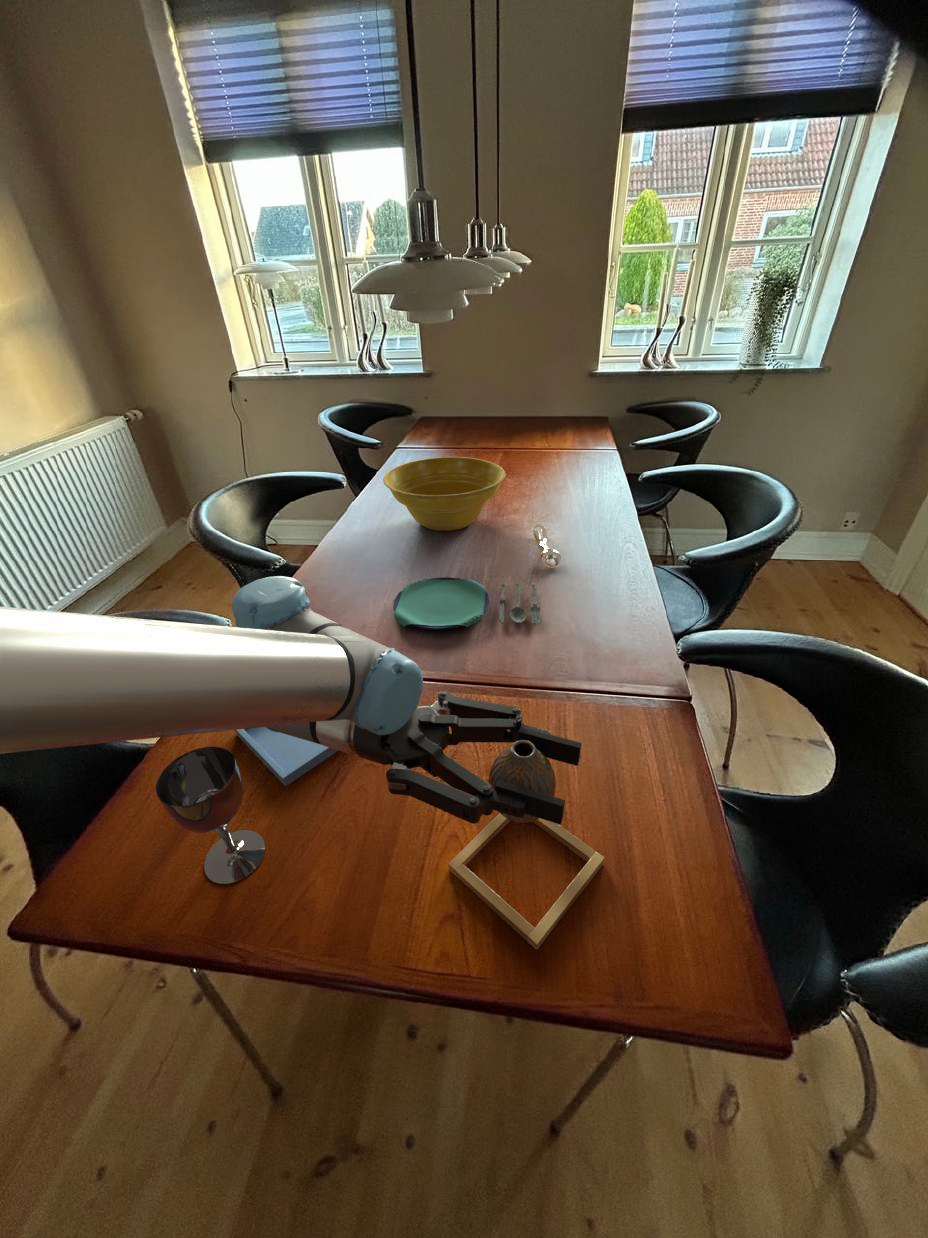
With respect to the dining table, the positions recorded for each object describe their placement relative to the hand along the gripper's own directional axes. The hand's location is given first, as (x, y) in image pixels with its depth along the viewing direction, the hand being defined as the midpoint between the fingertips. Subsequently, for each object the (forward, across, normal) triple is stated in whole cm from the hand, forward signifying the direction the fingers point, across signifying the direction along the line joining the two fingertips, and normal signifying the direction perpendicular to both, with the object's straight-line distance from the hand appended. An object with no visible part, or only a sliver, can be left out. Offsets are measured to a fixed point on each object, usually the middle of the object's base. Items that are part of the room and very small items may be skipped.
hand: (571, 781), depth 52 cm
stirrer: (-23, -82, -17) cm, 87 cm away
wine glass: (-38, +11, -17) cm, 43 cm away
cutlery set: (-31, -50, -17) cm, 61 cm away
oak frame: (-4, 0, -17) cm, 17 cm away
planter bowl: (-53, -90, -17) cm, 106 cm away
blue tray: (-42, -10, -17) cm, 46 cm away
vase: (-5, 0, -6) cm, 8 cm away
